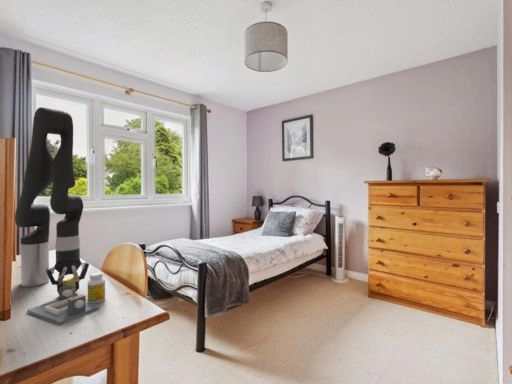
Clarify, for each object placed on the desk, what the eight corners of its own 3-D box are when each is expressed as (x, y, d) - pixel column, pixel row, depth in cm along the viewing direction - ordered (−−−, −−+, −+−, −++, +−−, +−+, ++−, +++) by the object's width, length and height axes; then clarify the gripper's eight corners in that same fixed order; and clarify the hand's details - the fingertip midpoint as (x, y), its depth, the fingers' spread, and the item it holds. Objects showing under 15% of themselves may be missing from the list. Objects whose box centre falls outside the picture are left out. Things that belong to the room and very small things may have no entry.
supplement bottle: (85, 304, 95) (85, 276, 95) (90, 298, 101) (90, 272, 100) (102, 302, 97) (102, 275, 97) (106, 296, 102) (106, 270, 102)
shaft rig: (27, 312, 89) (27, 295, 89) (66, 299, 100) (66, 283, 100) (59, 325, 81) (59, 305, 81) (98, 309, 92) (98, 291, 92)
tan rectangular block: (62, 297, 101) (62, 281, 101) (60, 294, 104) (60, 278, 104) (75, 294, 104) (75, 278, 104) (73, 291, 107) (73, 276, 107)
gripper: (45, 252, 96) (46, 301, 96) (91, 246, 106) (92, 290, 106) (42, 249, 101) (43, 294, 102) (87, 243, 111) (87, 285, 112)
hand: (68, 292), depth 104 cm, fingers closed on tan rectangular block, 4 cm apart
